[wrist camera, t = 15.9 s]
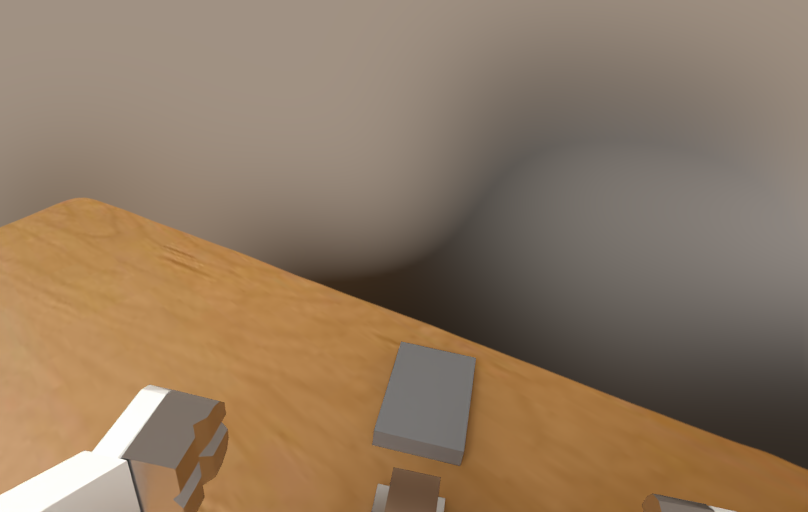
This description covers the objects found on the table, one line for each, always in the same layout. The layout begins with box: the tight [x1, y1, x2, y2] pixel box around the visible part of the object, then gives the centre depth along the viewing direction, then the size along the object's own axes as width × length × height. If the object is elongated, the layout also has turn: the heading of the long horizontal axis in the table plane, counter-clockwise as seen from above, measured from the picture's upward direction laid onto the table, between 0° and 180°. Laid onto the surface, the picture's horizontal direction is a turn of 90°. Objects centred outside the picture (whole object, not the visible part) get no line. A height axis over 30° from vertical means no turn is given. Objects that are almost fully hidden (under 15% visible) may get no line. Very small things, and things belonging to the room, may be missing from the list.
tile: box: [372, 342, 476, 466], centre depth 53 cm, size 2×8×12 cm
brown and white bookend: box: [372, 467, 445, 512], centre depth 37 cm, size 10×6×13 cm, turn 170°
